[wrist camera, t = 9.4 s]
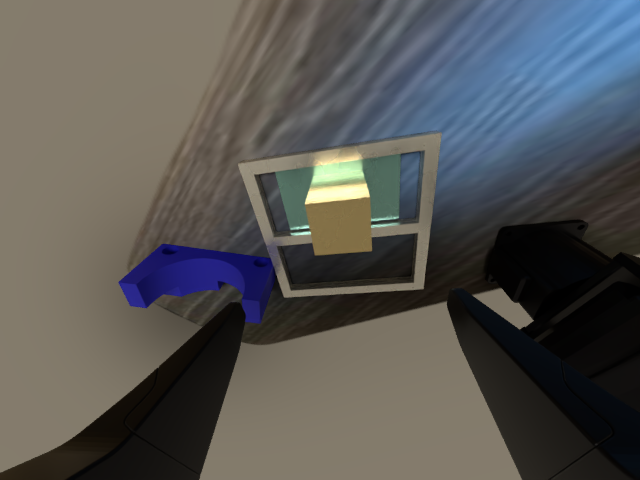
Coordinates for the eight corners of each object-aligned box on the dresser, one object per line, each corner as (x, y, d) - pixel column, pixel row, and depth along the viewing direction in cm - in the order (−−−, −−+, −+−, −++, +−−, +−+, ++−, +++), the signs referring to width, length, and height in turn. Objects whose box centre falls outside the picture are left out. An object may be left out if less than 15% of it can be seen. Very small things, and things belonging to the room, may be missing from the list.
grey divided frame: (436, 130, 17) (441, 132, 16) (420, 282, 25) (423, 289, 24) (242, 160, 19) (237, 164, 18) (286, 291, 27) (284, 297, 26)
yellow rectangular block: (362, 170, 18) (370, 197, 14) (364, 214, 20) (371, 251, 16) (313, 176, 19) (304, 204, 14) (320, 219, 21) (315, 255, 16)
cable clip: (173, 274, 27) (135, 316, 22) (163, 242, 24) (118, 282, 19) (275, 288, 27) (260, 333, 22) (275, 258, 24) (259, 301, 19)
